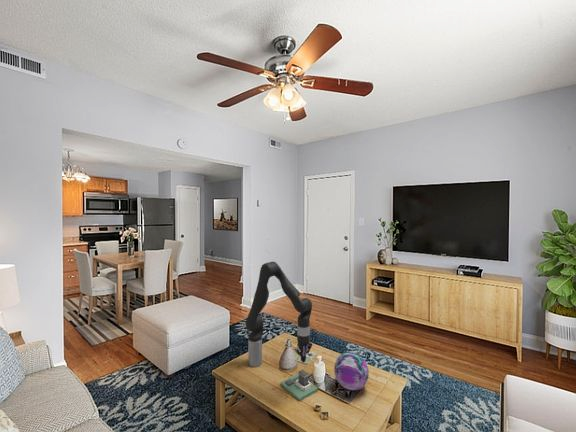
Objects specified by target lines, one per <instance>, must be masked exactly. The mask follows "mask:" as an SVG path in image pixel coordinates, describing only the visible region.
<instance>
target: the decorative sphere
mask: <svg viewBox="0 0 576 432" xmlns="http://www.w3.org/2000/svg"><path fill="white" fill-rule="evenodd" d="M333 370H334V375H335V378H336V381H337V382H338V383H339V385H340V386H342V387H343V388H344V389H346V390H348V391H358V390H361V389H362V388H363V387H365V386H366V384H367V383H368V380H369V374H370V372H369V368H368V364H367V361H366V360H365V359H364V358H363V356H361V355H360V354H358V353H357V352H354V351H346V352H343V353H341V354H340V355H338V356H337V358H336V360H335V362H334V367H333Z"/></svg>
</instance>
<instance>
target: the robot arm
mask: <svg viewBox="0 0 576 432" xmlns="http://www.w3.org/2000/svg"><path fill="white" fill-rule="evenodd" d="M271 277H275V278H276V279H277V280H278V281H279V283H280V286H281V289H282V292H283V293H284V294H285V295H286V296H287V298H288V299H289V300H290V301H291V304H292V305H293V307H294V309H295V311H296V312H298V313H299V315H298V316H297V327H296V340H297V345H296V347H294V349H293V350H294V352H295V353H296V354H297V356H298V355H299V356H301V361H302V362H305V360H306V355H307V353H309V351H310V350H311V348H312V347H313V343H312V342H310V341H311V339H310V338H311V327H310V325H311V324H310V322H311V321H310V318H311V314H312V310H313V303H312V301H311V299H310V298H308V297H304V298H302V299H301V298H300V295H301V293H300V291H299V290H298V289H297V288H296V287H295V286H294V285H293V283H292V282H291V281H290V280H289V278H288V277H287V276H286V274H285V272H284V271H283V270H282V269H281V267H280V265H279V264H278V263H277V262H276V261H269V262H266V263H263V264H262V265H261V267H260V270H259V276H258V282H257V286H256V289H255V293H254V295H253V300H252V303H251V306H250V310H249V312H248V315H247V318H246V320H245V327H246V329H247V331H248V332H250V333H249V334H248V349H247V351H248V352H247V355H248V357H247V358H248V359H247V360H248V366H249V367H252V368H257V367H261V365H263V334H264V319H263V316H262V315H261V314H260V313H261V312H262V310H264V308H265V306H266V305H267V303H268V300H269V297H270V291H269V288H268V284H269V281H270V278H271ZM310 352H311V351H310Z"/></svg>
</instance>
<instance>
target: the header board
mask: <svg viewBox="0 0 576 432" xmlns="http://www.w3.org/2000/svg"><path fill="white" fill-rule="evenodd" d="M279 385H280V386H281V387H282V388H284V389H285V391H287V392H288V394H290V395H291V396H293V398H295V399H296V400H297V401H299V402H301V401H303V400H304V399H306V398H308V397H310V396H311V395H314V394H315V393H317V392H318V391H319V390H318V389H319V388H318V387H317V386H315V385H314V384H313V383H312V382H310V380H309V379H308V385H307V386H305V387H304V386H303V385H301V384H300V383H299V374H298V373H296V374H294V375H292V376H291V377H288V378H286V379H284V380H282V381H280V384H279Z"/></svg>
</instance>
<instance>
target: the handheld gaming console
mask: <svg viewBox="0 0 576 432" xmlns="http://www.w3.org/2000/svg"><path fill="white" fill-rule="evenodd" d="M316 354H317V353H316V352H313V351H309V353H307V355H306V360H305V362H302V361H301V356H299V355H298V354H297V356H296V358H297V361H298V363H301V364H303V365H308V364H309V363H310V362H311V361H312V360H313V359H314V357H315V356H316ZM297 361H296V362H297Z"/></svg>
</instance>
